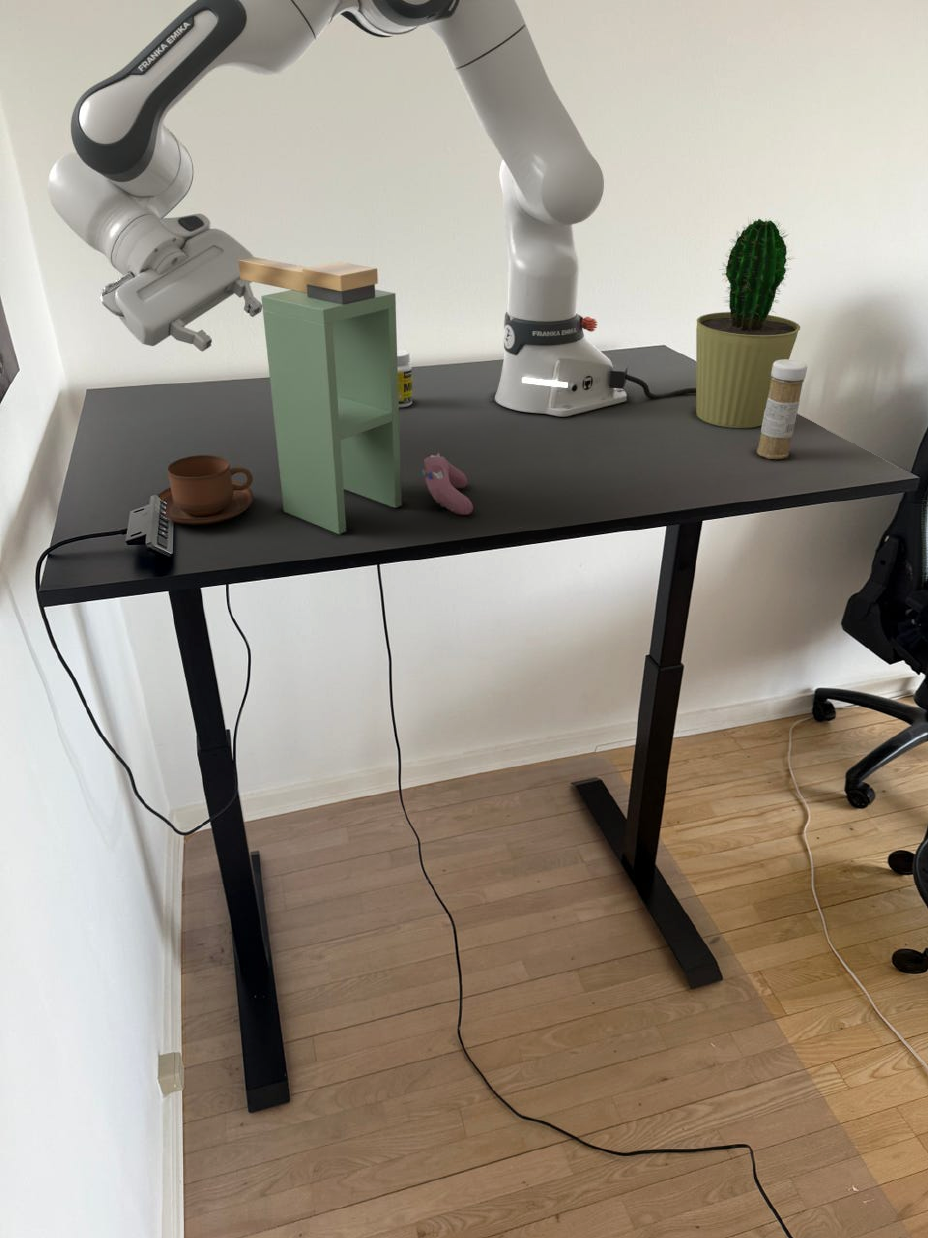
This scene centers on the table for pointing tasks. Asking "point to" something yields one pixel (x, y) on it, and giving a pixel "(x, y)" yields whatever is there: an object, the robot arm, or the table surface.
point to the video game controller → (446, 485)
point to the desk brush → (314, 279)
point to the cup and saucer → (205, 490)
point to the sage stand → (334, 402)
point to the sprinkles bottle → (781, 408)
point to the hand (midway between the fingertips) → (233, 328)
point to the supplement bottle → (404, 378)
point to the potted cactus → (744, 333)
